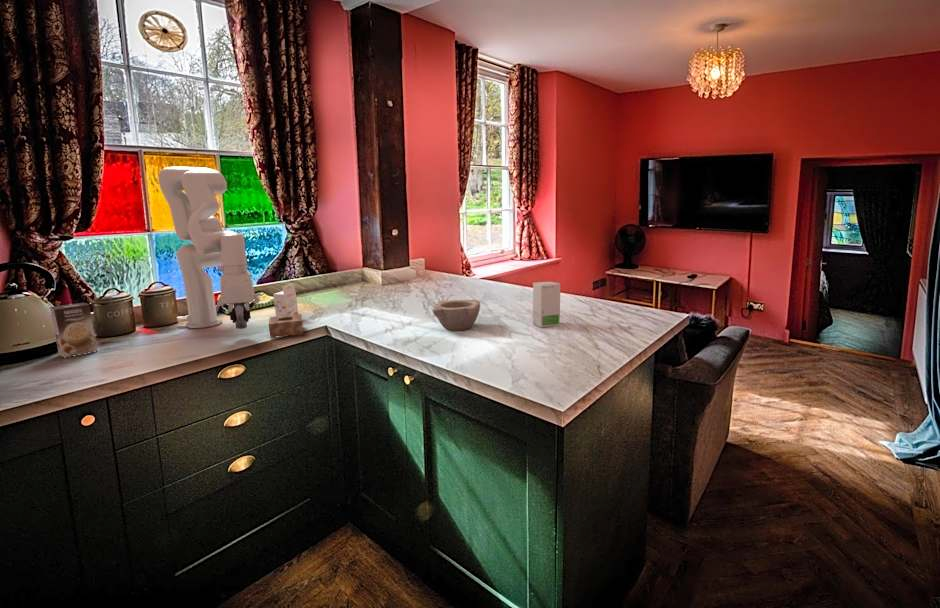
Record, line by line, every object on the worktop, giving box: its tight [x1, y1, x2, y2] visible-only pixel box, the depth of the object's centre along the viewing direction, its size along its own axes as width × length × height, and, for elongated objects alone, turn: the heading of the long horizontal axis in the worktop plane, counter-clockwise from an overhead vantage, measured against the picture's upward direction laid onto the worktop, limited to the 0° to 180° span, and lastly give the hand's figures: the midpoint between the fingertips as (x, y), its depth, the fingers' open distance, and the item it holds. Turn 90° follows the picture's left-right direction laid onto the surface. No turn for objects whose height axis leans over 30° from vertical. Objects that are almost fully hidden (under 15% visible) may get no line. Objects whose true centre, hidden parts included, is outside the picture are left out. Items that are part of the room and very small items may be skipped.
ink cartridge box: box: [272, 282, 299, 317], centre depth 196 cm, size 9×5×15 cm, turn 168°
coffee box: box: [49, 302, 99, 359], centre depth 159 cm, size 9×6×16 cm
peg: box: [233, 303, 248, 330], centre depth 172 cm, size 4×4×10 cm
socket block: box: [268, 313, 304, 338], centre depth 180 cm, size 11×11×5 cm
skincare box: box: [532, 281, 561, 329], centre depth 180 cm, size 8×7×16 cm
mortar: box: [432, 299, 481, 331], centre depth 180 cm, size 17×17×9 cm
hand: (240, 320), depth 173 cm, fingers closed on peg, 3 cm apart
